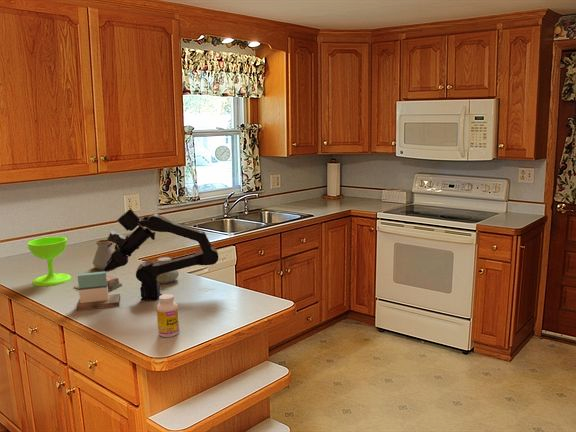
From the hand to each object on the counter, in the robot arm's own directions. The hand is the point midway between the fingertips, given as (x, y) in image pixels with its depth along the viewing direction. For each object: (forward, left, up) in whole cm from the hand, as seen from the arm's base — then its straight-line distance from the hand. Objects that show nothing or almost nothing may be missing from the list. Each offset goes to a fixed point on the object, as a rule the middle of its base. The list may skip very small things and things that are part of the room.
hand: (105, 267), depth 209 cm
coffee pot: (+19, -43, -14) cm, 49 cm away
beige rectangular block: (+5, +3, -12) cm, 14 cm away
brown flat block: (+3, +2, -14) cm, 14 cm away
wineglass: (+38, -27, -14) cm, 48 cm away
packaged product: (+13, -19, -15) cm, 27 cm away
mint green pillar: (+5, +3, -7) cm, 8 cm away
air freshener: (-14, -26, -14) cm, 33 cm away
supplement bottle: (-33, +29, -14) cm, 46 cm away
